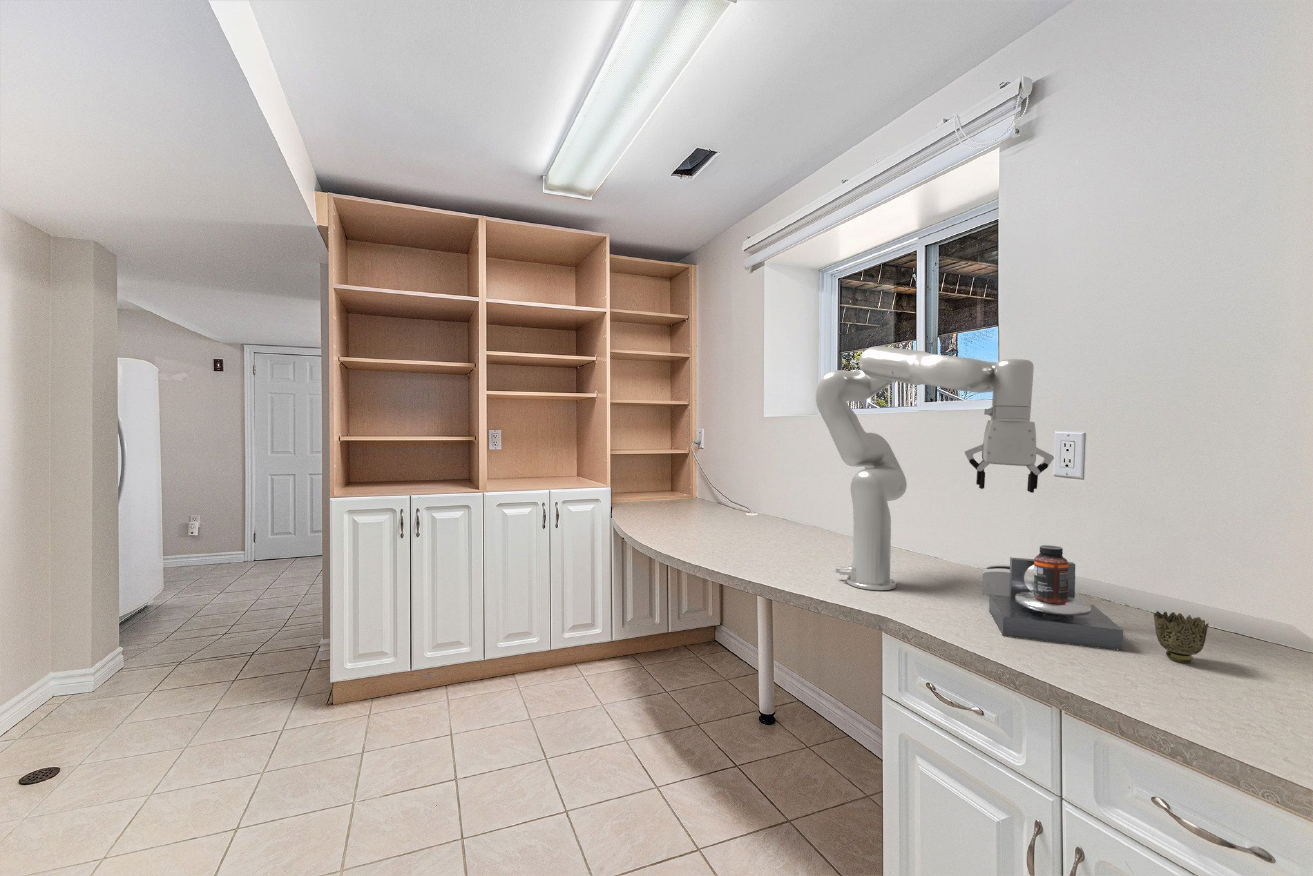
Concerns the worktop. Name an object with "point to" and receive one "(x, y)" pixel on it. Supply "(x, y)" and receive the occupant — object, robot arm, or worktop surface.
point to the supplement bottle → (1051, 575)
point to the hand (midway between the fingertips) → (1005, 490)
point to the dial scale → (1051, 613)
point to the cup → (1180, 635)
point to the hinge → (996, 580)
